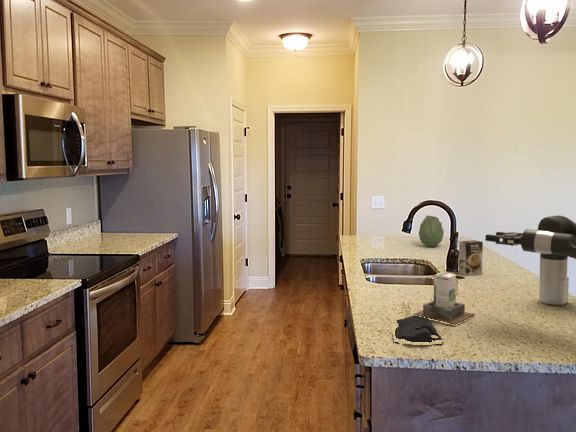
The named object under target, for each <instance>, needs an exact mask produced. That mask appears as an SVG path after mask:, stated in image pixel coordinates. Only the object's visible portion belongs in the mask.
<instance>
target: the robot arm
mask: <svg viewBox="0 0 576 432" xmlns="http://www.w3.org/2000/svg"><path fill="white" fill-rule="evenodd" d="M484 238H485V241H486V242H492V243H495V244H496V245H504V246H505V245H506V246H514V247H515V246H518V245H520V246H521V249H522V250H523V252H529V253H536V254H539V255H540V256H539V283H538V285H539V289H538V290H539V291H538V292H539V293H538V299H539V300H538V301H539V302H540V303H543V304H547V305H555V306H564V305H565V304H567V303H569V290H570V289H569V286H570V285H569V282H570V279H569V277H568V257H569V258H572V259H575V260H576V222H575V221H573V220H572V219H570V218H568V217H566V216H564V215H551V216H546V217H544V218H542V219H540V221H539V223H538V227H537V229H532V228H531V229H529V228H527V229H526V228H525V230H524V231H523V232H515V231H509V232H503V231H496V232H495V234H489V233H488V234H486V235H485V237H484ZM501 239H502V240H501Z"/></svg>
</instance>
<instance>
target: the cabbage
mask: <svg viewBox="0 0 576 432" xmlns="http://www.w3.org/2000/svg"><path fill="white" fill-rule="evenodd" d="M444 234H445V231H444V229H443V223H442V221H440V219H439V217H438V216H433V215H425V218H424V219H423V220H422V222H420V226H419V231H418V237H419V240H420V242H421V243H422V244H423V246H424V245H425V246H426V247H429V248H435V247H437V246H439V244H441V242H442V241H443V238H444Z"/></svg>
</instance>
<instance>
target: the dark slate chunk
mask: <svg viewBox="0 0 576 432" xmlns="http://www.w3.org/2000/svg"><path fill="white" fill-rule="evenodd" d="M395 321H397V323H398V324H399V325H398V326H399V327H397V328H396V330H395V336H396V338H398V339H405V340H407V341H411V342H429V343H430V342H432V340H433V341H435V340H442V339H443V338H442V337H441V336H439V335H440V334H439V333H438V330H437V329H436V327H435V326H434V324H433V323H432V321H430V320H429V319H428V318H424V317H419V316H415V315H414V314H413V315H410V316H407V317H404V318H401V319H397V320H395ZM436 331H437V332H436ZM431 335H436V336H438V338H432V337H431ZM441 338H442V339H441Z"/></svg>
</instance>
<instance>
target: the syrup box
mask: <svg viewBox="0 0 576 432" xmlns="http://www.w3.org/2000/svg"><path fill="white" fill-rule="evenodd" d="M456 277H457V274H456V273H455V274H454V273H451V272H443V271H442V272H439V273H437V274H434V276H433V301H434V306H435V307H440V308H445V309H450V308H453V307H455V302H456V284H457V283H456V280H457V279H456Z"/></svg>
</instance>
